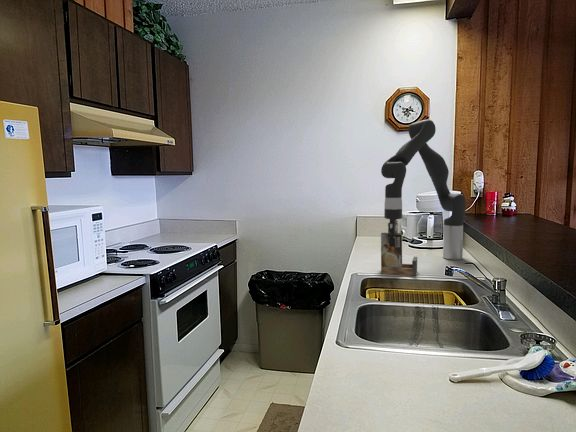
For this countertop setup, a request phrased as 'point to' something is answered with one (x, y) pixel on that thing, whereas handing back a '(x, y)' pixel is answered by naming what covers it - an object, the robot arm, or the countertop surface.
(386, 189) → the robot arm
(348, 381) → the countertop surface
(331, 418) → the countertop surface
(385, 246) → the coffee box
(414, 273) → the endcap cradle
